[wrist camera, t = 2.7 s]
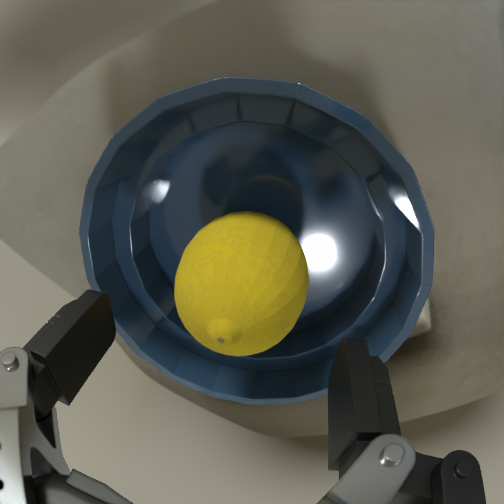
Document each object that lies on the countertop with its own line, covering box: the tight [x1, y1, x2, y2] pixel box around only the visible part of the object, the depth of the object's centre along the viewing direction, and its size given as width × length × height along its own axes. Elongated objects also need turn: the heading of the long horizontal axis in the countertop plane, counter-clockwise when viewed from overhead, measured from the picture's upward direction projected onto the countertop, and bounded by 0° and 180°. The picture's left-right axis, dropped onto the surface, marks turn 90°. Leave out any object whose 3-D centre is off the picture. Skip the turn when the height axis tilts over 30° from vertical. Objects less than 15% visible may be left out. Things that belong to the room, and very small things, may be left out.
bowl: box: [79, 77, 434, 405], centre depth 15 cm, size 16×16×5 cm
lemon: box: [174, 211, 309, 356], centre depth 13 cm, size 6×6×8 cm
